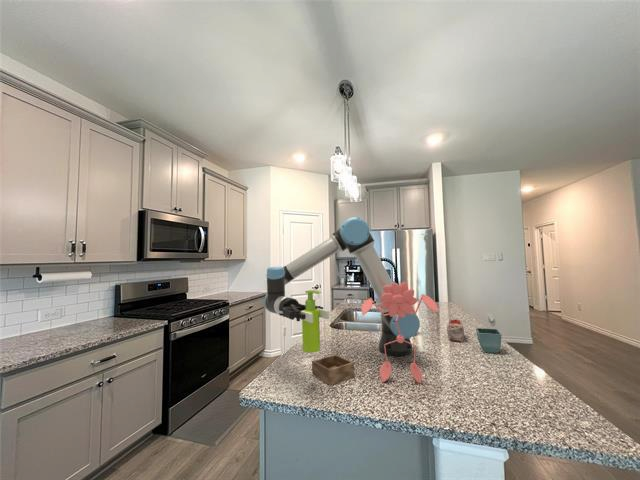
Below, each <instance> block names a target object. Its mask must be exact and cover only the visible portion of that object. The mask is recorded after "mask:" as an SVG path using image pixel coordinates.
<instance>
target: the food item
mask: <svg viewBox="0 0 640 480" xmlns="http://www.w3.org/2000/svg"><path fill="white" fill-rule="evenodd" d="M446 331H447V337H448V338H449V340H450V341H452V342H457V343H464V341H465V329H464V325H463V323H462V321H461V320H460V319H457V318H455V319H449V321H448V323H447V325H446Z"/></svg>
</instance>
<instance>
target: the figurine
mask: <svg viewBox="0 0 640 480" xmlns="http://www.w3.org/2000/svg"><path fill="white" fill-rule="evenodd" d="M392 282H393V281H392ZM383 289H384V291H385V294H383V295H381V296H380V300H381V301H383V302H382V305H381V304H380V307H379V306H378V305H377V303H375V301H374V300H373V298H372V297H369V298H367V299H366V300H365V301H364V303H363V304H362V307H361V308H360V309H361V315H362V316H365V315H366V314H367V313H369V312H370V311H371V309H372V308H373V305H374V306H375V307H376V309H377V310H378V311H379V312H380V314H381V313H382V315H384V316H387V315H390V316H391V317H394V316H395V315H396V313H397V314H398V315H397V318H396V326H397V329H398V332H399V335H398V336H397V338H396V339H397V340H395V341H397V342H399V343H403V342H404V341H405V340H404V337H403V336H402V335H401V334H400V331H399V327H398V324H397V320H398V317H399V316H400V317H403V318H404V317H405V315H406V314H415V313H416V314H415V315H417V312H418V310H419V308H420V305H421V304H422V302H423V303H424V304H425V306H426V307H427V308H428V309H430V310H431V311H434V312H435V313H439V309H438V305H437V303H436V302H435V300H434V299H433V298H432V297H430V296H429V295H426V294H424V293H422V294H421V296H420V299H419V301H418V299H417V297H414V296H415V289H413V288H410V289H409V286H408V284H407V282H406V281H403V282H402V283H400V284H399V283H397V282H393V283H392V286H389V285H388V286H384V287H383ZM417 303H418V304H417ZM415 304H417V307H416V309H415V308H414V307H413V306H414V305H415ZM381 308H382V309H388V312H389V313H388V314H383V312H382V311H381ZM414 310H415V313H412V312H414ZM395 341H392V342H395ZM392 342H389V343H386V344H384V348H385V345H387V344H390V343H392ZM405 342H407V341H405ZM407 343H409V342H407ZM409 344H411V345H412V346H414V347H413V348H414V349H413V350H414V351H413V362H412V363H410V365H409V367H410V375H411V376H412V377H411V378H413V379H414V380H416V382H418V384H422V377H423V376H422V371H421V369H420V367H419V366H418V364H417V363H416V345H415V344H414V343H412V342H411V343H409ZM384 355H385V361H384V362H383V363H382V365H381V366H380V370H379V371H380V372H379V375H380V376H379V377H380V379H381V381H382V383H384V382H386V381H387V380H388V379H389V378H390V377H391V375H392V364H391V363H390V361H388V358H387V354H386V348H385V354H384ZM371 374H372V373H370V374H369V376H370V375H371ZM432 392H434V390H432V391H430V392H428V393H425V394H421V395H418V397H421V396H423V397H425V396H427V395H429V394H431V393H432ZM389 394H391V395H395V396H397V394H395V393H390V392H389ZM398 396H400V397H403V395H400V394H398ZM413 397H414V395H409V398H413Z"/></svg>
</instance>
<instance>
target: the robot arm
mask: <svg viewBox="0 0 640 480" xmlns="http://www.w3.org/2000/svg"><path fill="white" fill-rule="evenodd" d="M370 229H371V228H370V226H369V224H368V222H366V221H365V220H364V219H363V218H361V217H357V216H355V217H354V216H353V217H349V218H347V219H346V220H344V221H343V222H342V224H341V225H340V227H339V228H338V230H336V231H334V232H333V233H332V234H331V236H330V237H329V238H328V239H326V240H324V241H323V242H321V243H319V244H318V245H316V246H315V247H313V248H312V249H310V250H309V251H307V252H305V253H303V254H302V255H300V256H298V257H297V258H296V259H294V260H292V261H290V262H289V263H287V264H286V265H285V266H271V267H270V266H269V267H267V269H266V291H267V292H266V296H265V297H264V299H263V306H264V308H265V310H267V311H268V312H270V313H272V314H276V315H278V316H281V317H282V318H287V319H289V320H292V321H293V320H295V319H296V322H300V321H302V320H304V321H307V322H310V323H313V314H312V313H308V312H305V311H303V310H306V305H305V304H302V303H299V301H298V300H297V299H295V298H293V297H288V296H286V285H287V284H288V283H290V282H292V281H293V280H295V279H296V278H298V277H299V276H301V275H303V274H304V273H306V272H308V271H309V270H311V269H313V268H314V267H315V266H317V265H320V263H322V262H323V261H326V260H327V259H328V258H330V257H331V256H333V255H335V254H336V253H338V252H343V251H345V250H347V251H348V252H349V254H350V255H351V256H352V255H353V256H355V258H356V260H357V261H358V263H359V265H360V266H359V267H360V268H361V269H362V271H363V273H364V275H365V276H366V279H367V280H368V282H369V284H370V286H371V288H372V291H373V292H374V294H375V296H376V298H377V299H378V301H379V303H380V306H381V305H382V302H383V301H381V300H380V296H381V295H383V294H385V291H384V289H383V287H384V286H388V285H389V286H392V283H393V281H392V279H391V277H390V275H389V273H388V271H387V269H386V267H385V266H384V263H383V262H382V259H381V258H380V256H379V254H378V252H377V251H376V249H375V247H374V245H375V239H374V237H373V235H372V234H371V230H370ZM315 309H317V310H319V318H322V319H325V320H330V311H329V310H326V309H324V307H323V306H321V305H315ZM380 310H381V311H382V312H383V314H388V313H389V312H388V309H382V308H381V307H380ZM412 313H414V312H412ZM380 315H381V316H380V317H381V334H380V339H379V343H378V350H379V352H380V353H382V354H384V355H385V348H386V356H387V355H388V356H394V357H402V356H403V357H404V356H405V357H406V356H409V355H412V353H414V351H413V350H414V349H413V348H414V347H413V345H411V344H409V343H412V342H411V338H413V337H414V336H417V334H418V333H419V330H420V327H421V323H420V322H421V321H420V318H419V316H418V315H417V314H416V315H415V314H406V315H405V317H404V318H403V317H400V316H399V317H398V320H397V324H398V327H399V331H400V334H401V335H402V336H403V337H404V340H405V341H407V342H409V343H407V342H405V341H404V342H403V343H399V342H397V341H395V340H397V339H396V338H397V336H398V335H399V332H398V329H397V326H396V318H397V315H398V314H397V313H396V315H395V316H394V317H391V316H390V315H387V316H384V315H382V313H381V312H380ZM416 333H417V334H416ZM392 341H395V342H392ZM389 342H392V343H390V344H387V345H385V348H384V344H386V343H389Z"/></svg>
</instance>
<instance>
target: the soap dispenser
mask: <svg viewBox="0 0 640 480" xmlns="http://www.w3.org/2000/svg"><path fill="white" fill-rule="evenodd" d="M304 293H305V294H307V299H305V301H304V303H305V304H304V305H306V310H303V311H305V312H308V313H312V314H313V323H310V322H307V321H304V320H301V323H302V324H301V325H302V326H301V330H302V332H301V333H302V336H301V337H302V351H303V352H304V353H317V352H319V351H320V350H321V341H320V340H321V339H320V338H321V336H320V335H321V334H320V317H319V310H317V309H315V306H316V299H314V298H313V297H314V295H313V294H317V295H319V294H321V293H322V292H321V291H320V290H317V289H316V290H315V289H313V290H305V292H304Z"/></svg>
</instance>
